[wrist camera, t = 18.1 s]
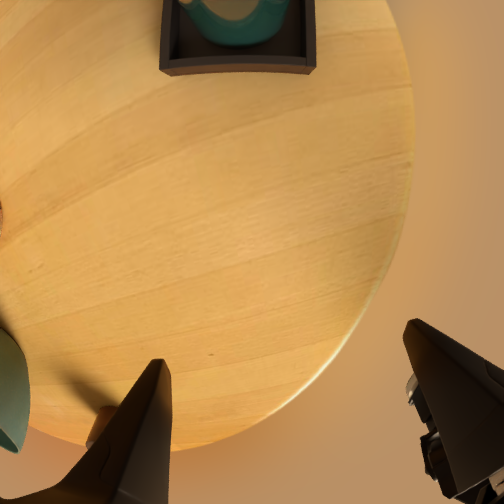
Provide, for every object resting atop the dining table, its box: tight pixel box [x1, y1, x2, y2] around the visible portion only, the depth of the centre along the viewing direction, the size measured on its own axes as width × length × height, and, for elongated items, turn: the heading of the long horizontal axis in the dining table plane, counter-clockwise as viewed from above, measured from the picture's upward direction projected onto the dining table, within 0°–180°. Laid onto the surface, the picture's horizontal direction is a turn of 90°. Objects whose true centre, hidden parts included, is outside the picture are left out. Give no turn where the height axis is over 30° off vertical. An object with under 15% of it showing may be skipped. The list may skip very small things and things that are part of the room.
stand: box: [86, 406, 118, 449], centre depth 29 cm, size 7×7×6 cm
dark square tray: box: [159, 0, 316, 76], centre depth 13 cm, size 9×9×2 cm
